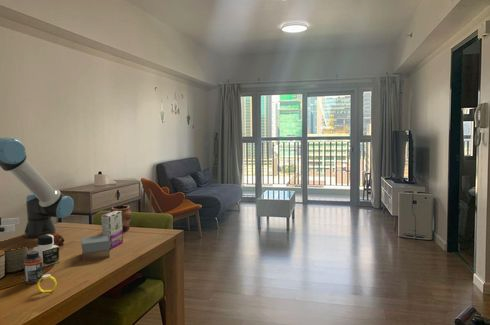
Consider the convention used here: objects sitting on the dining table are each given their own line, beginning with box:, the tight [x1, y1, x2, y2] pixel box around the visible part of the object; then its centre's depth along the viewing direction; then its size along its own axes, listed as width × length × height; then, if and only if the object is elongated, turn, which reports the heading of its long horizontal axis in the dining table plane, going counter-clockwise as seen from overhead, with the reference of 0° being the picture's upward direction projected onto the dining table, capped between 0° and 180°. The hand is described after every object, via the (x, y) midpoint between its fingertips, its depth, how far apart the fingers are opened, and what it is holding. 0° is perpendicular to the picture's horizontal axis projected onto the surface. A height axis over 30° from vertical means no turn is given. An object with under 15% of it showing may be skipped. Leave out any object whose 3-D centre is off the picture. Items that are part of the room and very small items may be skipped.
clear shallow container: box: [82, 249, 111, 262], centre depth 166 cm, size 11×11×4 cm
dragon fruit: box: [47, 232, 65, 248], centre depth 175 cm, size 8×8×12 cm
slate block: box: [81, 234, 110, 253], centre depth 166 cm, size 11×11×4 cm
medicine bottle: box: [33, 235, 60, 268], centre depth 156 cm, size 7×7×12 cm
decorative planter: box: [109, 204, 132, 232], centre depth 207 cm, size 20×12×14 cm, turn 9°
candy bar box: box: [100, 211, 124, 250], centre depth 180 cm, size 11×5×16 cm, turn 168°
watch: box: [36, 273, 58, 294], centre depth 128 cm, size 6×3×6 cm, turn 100°
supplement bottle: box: [23, 250, 44, 285], centre depth 137 cm, size 6×6×11 cm
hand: (17, 224), depth 150 cm, fingers open, 13 cm apart
